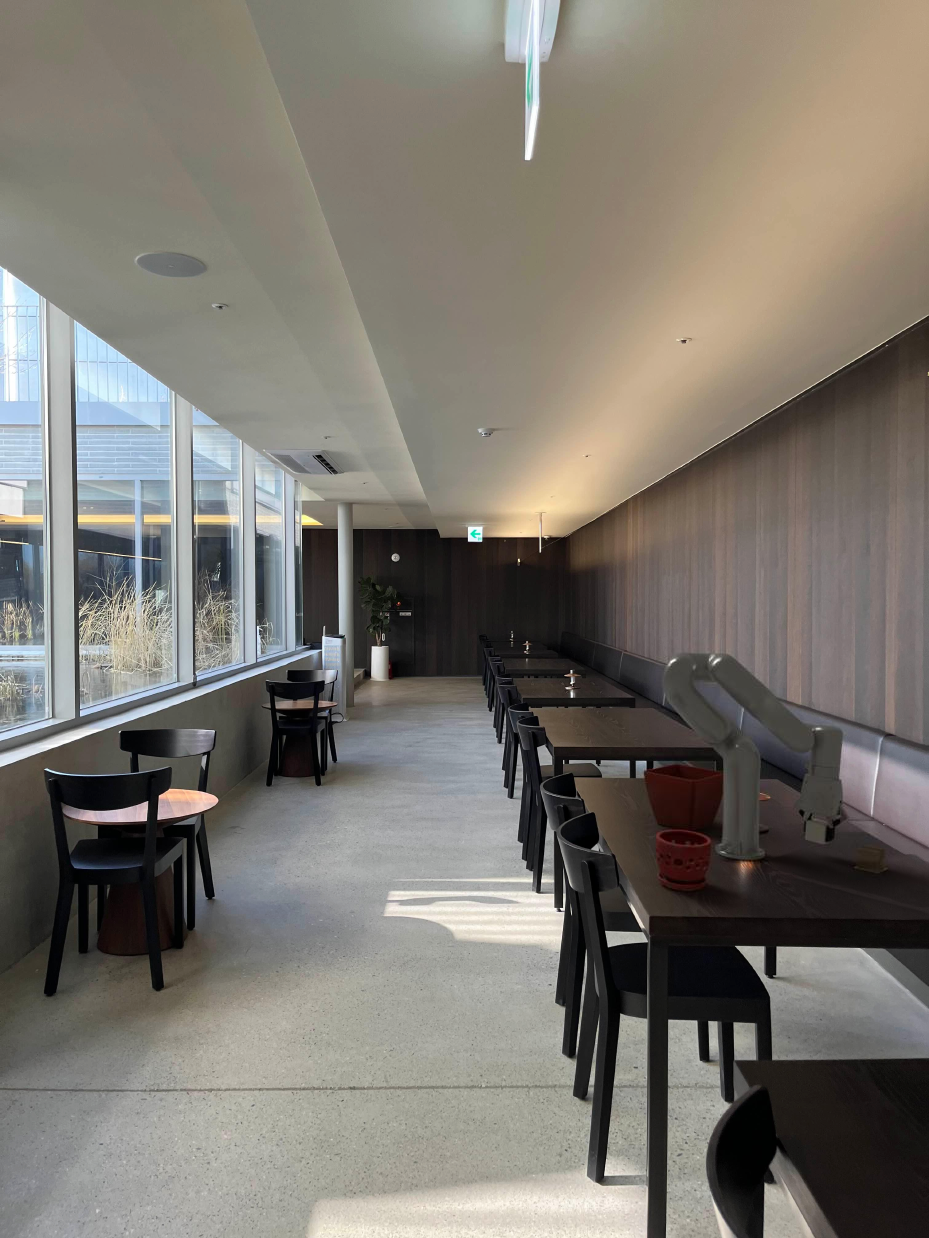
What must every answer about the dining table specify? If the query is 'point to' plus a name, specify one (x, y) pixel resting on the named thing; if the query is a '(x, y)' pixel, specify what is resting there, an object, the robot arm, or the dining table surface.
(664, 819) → the plant pot
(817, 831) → the cream block
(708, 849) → the plant pot
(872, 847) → the walnut block
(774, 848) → the dining table surface
